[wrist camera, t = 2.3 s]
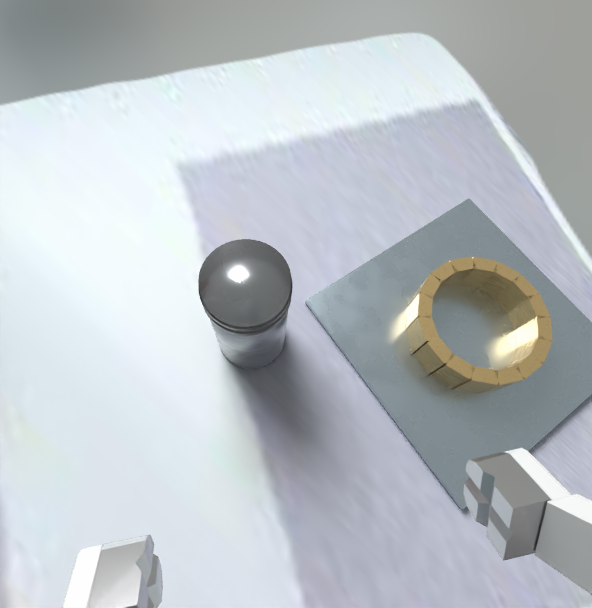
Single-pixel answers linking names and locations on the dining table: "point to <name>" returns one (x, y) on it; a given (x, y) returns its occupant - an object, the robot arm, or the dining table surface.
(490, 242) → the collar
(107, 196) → the dining table surface
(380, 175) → the dining table surface
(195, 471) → the dining table surface
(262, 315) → the cylinder
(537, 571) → the dining table surface
